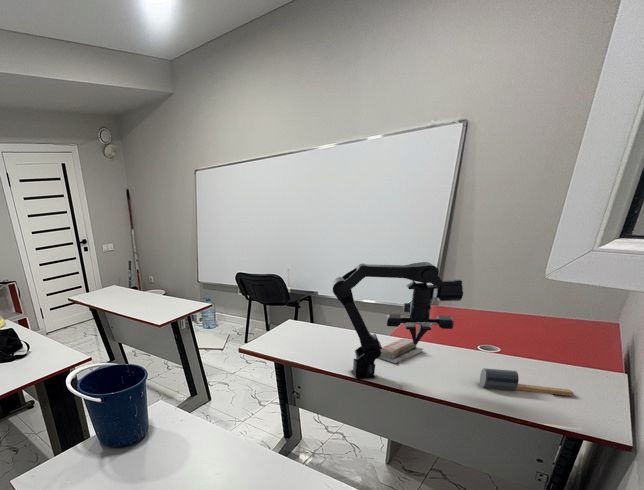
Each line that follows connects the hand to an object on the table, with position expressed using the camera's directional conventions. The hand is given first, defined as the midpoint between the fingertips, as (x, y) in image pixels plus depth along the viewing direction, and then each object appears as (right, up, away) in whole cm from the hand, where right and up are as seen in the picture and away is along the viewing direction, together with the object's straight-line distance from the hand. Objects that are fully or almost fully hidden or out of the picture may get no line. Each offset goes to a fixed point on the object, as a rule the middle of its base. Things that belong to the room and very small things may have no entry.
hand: (415, 344), depth 125 cm
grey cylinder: (+18, -11, -7) cm, 22 cm away
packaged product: (+8, -4, +23) cm, 24 cm away
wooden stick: (+21, -13, -8) cm, 26 cm away
